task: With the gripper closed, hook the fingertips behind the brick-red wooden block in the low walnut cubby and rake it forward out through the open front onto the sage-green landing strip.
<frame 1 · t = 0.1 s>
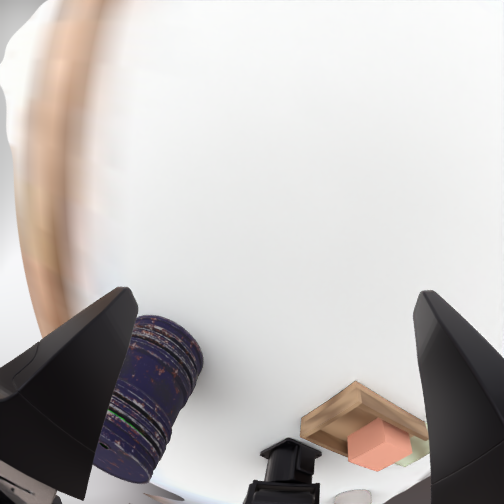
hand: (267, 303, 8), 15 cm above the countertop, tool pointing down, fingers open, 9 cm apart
cup: (350, 497, 39), on the countertop
bay: (368, 422, 30), on the countertop
block: (378, 433, 29), point 1 cm above the countertop, touching bay
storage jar: (163, 349, 31), on the countertop
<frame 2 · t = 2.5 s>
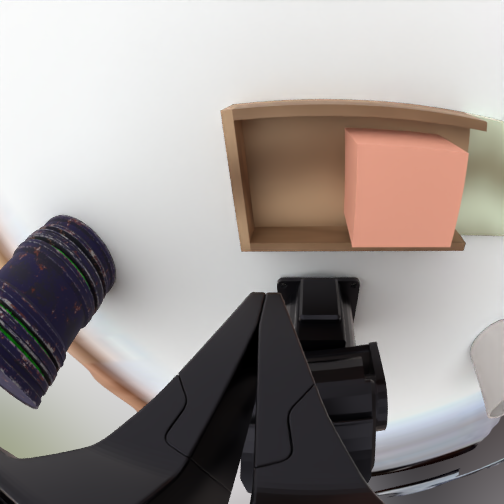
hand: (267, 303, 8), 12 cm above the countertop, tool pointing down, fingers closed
cup: (493, 342, 25), on the countertop
bay: (358, 167, 17), on the countertop
block: (391, 173, 16), point 1 cm above the countertop, touching bay
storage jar: (77, 255, 26), on the countertop
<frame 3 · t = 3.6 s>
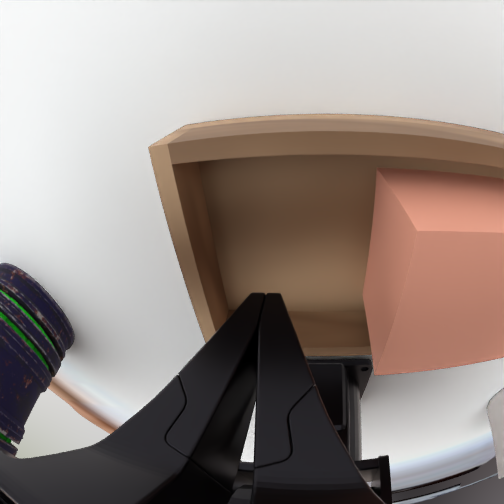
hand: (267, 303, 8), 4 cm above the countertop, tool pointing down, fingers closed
bay: (389, 225, 11), on the countertop
block: (440, 239, 10), point 1 cm above the countertop, touching bay
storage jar: (32, 306, 20), on the countertop
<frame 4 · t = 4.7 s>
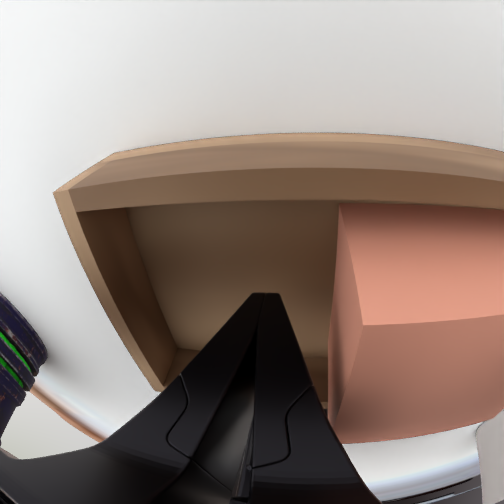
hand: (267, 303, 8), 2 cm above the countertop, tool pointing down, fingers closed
cup: (503, 418, 17), on the countertop
bay: (355, 266, 9), on the countertop
block: (423, 284, 8), point 1 cm above the countertop, touching bay, gripper
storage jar: (8, 321, 18), on the countertop
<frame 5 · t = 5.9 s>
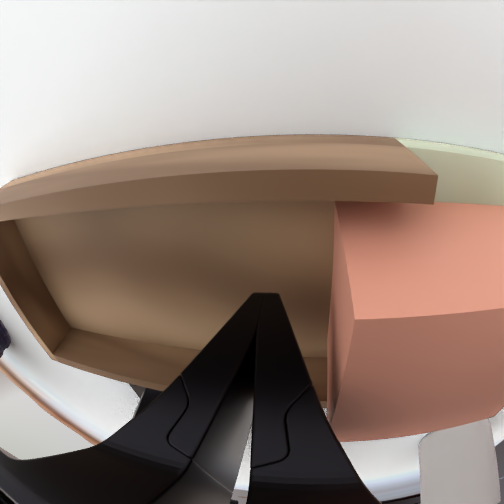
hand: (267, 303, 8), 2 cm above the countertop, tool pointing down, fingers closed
cup: (454, 433, 18), on the countertop
bay: (168, 263, 11), on the countertop
block: (422, 281, 8), point 1 cm above the countertop, touching gripper
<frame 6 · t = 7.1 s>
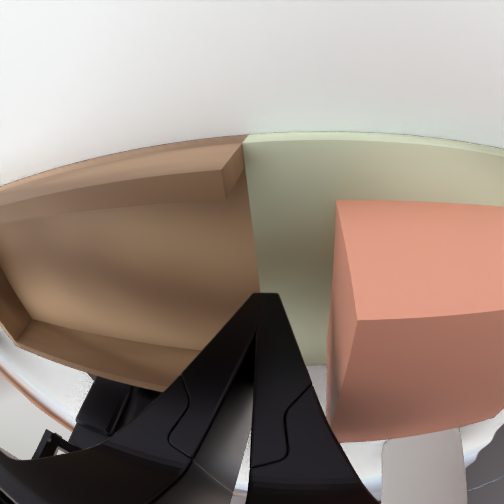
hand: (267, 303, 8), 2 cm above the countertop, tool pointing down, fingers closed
cup: (423, 438, 19), on the countertop
bay: (89, 262, 11), on the countertop
block: (422, 282, 8), point 1 cm above the countertop, touching bay, gripper
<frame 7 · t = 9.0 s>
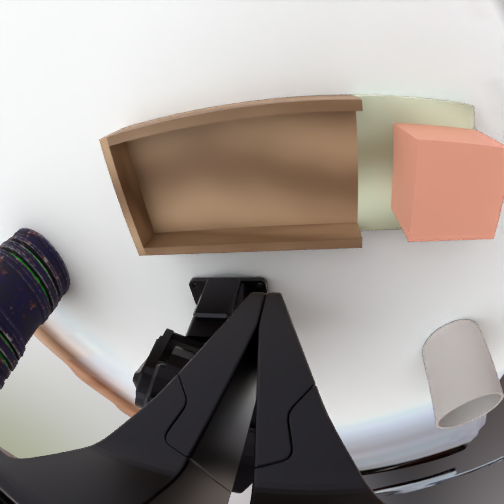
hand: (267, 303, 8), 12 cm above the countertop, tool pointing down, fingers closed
cup: (452, 344, 26), on the countertop
bay: (237, 169, 19), on the countertop
block: (435, 167, 15), point 1 cm above the countertop, touching bay
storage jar: (40, 262, 28), on the countertop
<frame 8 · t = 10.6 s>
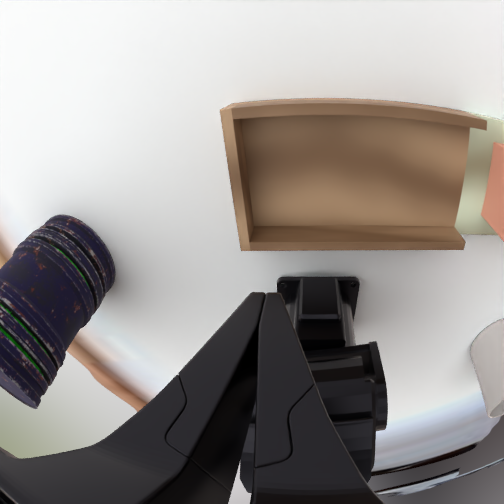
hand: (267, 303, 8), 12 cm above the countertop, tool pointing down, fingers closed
cup: (493, 342, 25), on the countertop
bay: (357, 166, 17), on the countertop
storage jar: (77, 255, 26), on the countertop
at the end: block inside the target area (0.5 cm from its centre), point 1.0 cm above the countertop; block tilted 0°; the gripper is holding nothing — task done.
